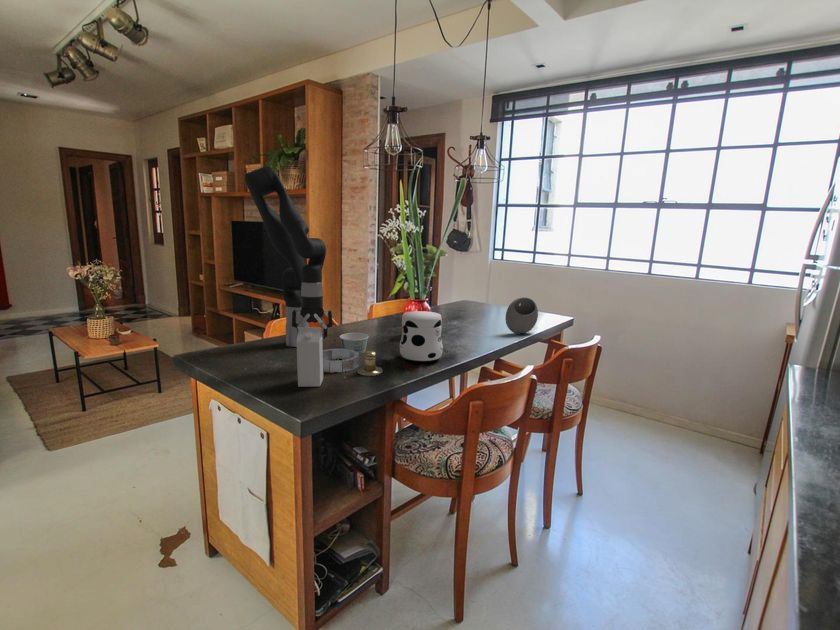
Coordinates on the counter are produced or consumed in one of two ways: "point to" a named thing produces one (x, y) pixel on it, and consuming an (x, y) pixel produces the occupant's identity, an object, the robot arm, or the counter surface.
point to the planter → (521, 315)
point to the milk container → (421, 336)
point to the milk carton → (309, 356)
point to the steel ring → (346, 364)
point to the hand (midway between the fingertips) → (312, 338)
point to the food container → (354, 341)
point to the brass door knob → (369, 365)
